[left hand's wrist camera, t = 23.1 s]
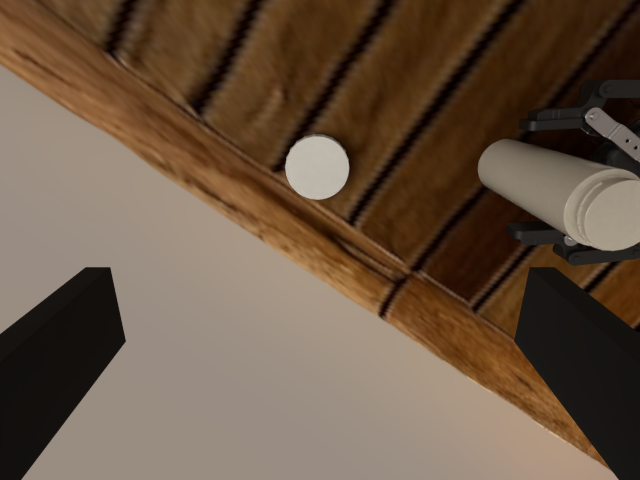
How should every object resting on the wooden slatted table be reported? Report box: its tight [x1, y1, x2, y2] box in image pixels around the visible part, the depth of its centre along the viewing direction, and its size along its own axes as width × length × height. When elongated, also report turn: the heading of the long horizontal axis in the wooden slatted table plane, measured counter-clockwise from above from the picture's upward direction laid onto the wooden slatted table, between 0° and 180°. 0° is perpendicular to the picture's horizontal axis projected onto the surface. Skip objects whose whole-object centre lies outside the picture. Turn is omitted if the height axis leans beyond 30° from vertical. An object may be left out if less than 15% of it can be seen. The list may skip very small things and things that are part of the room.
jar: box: [478, 139, 640, 251], centre depth 30 cm, size 5×5×16 cm
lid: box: [285, 133, 350, 199], centre depth 37 cm, size 6×6×2 cm
